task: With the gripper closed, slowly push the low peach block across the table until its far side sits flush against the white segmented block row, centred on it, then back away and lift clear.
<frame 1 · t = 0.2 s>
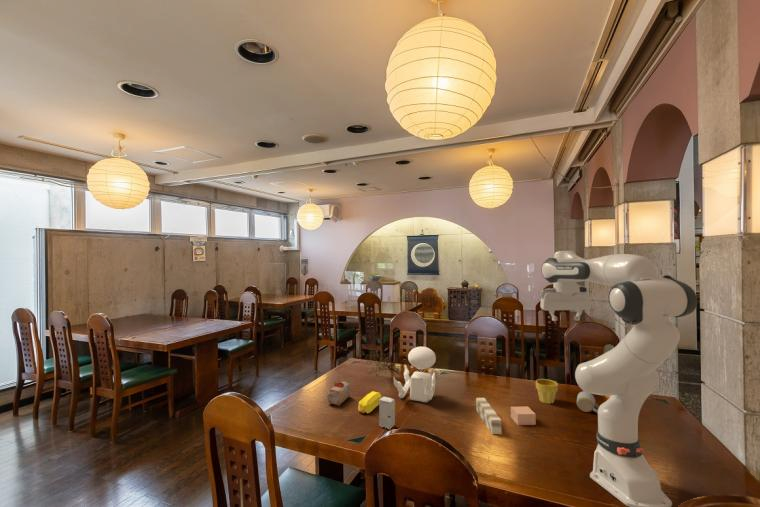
hand: (565, 320, 149), 47 cm above the table, tool pointing down, fingers open, 8 cm apart
food item: (339, 401, 186), on the table
skincare box: (387, 426, 157), on the table
white segmented block row: (488, 421, 160), on the table
yellow rounded capsule: (370, 408, 177), on the table
ceramic mug: (589, 410, 169), on the table
plant pot: (547, 401, 181), on the table
figurine: (417, 398, 188), on the table
peach block: (523, 421, 160), on the table
dried plant: (369, 379, 219), on the table
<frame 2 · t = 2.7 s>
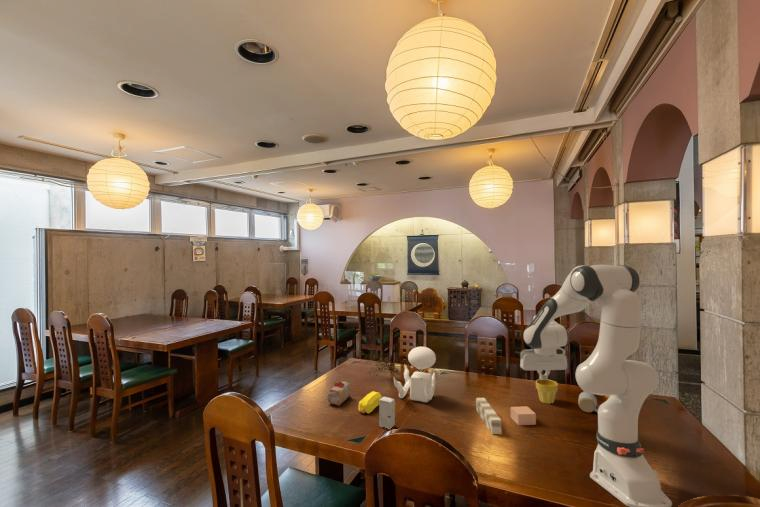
hand: (543, 379, 160), 19 cm above the table, tool pointing down, fingers closed
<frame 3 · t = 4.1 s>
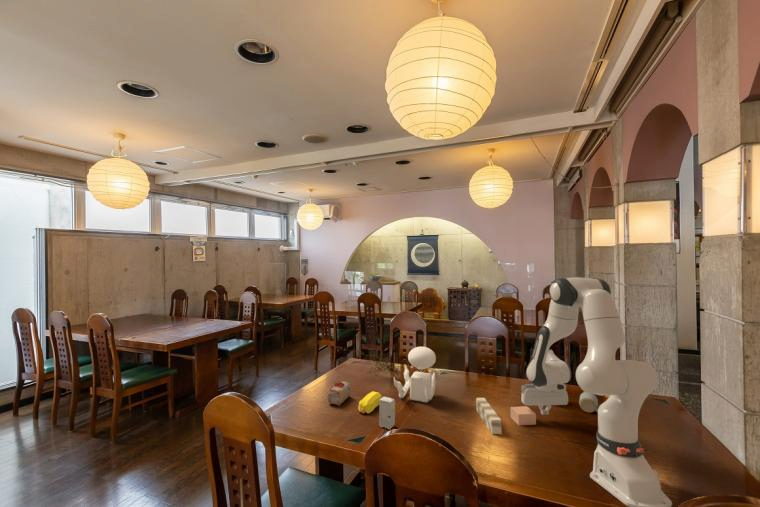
hand: (544, 414, 160), 3 cm above the table, tool pointing down, fingers closed
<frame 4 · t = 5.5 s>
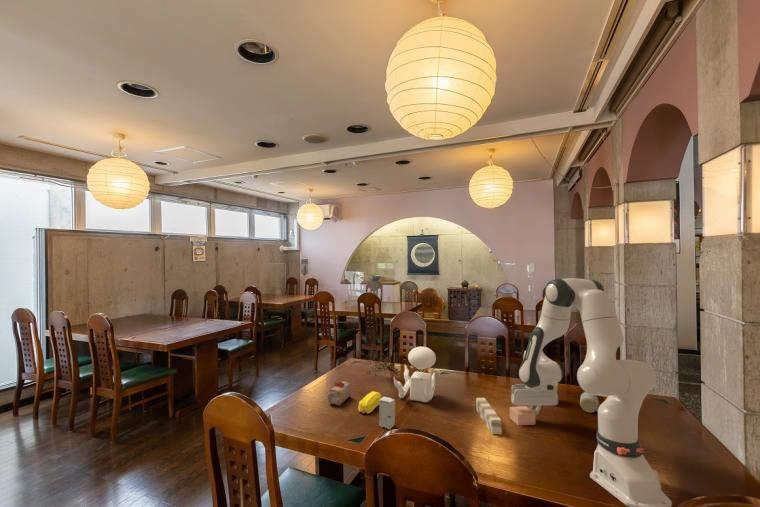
hand: (534, 414, 160), 3 cm above the table, tool pointing down, fingers closed
peach block: (522, 421, 160), on the table, touching gripper
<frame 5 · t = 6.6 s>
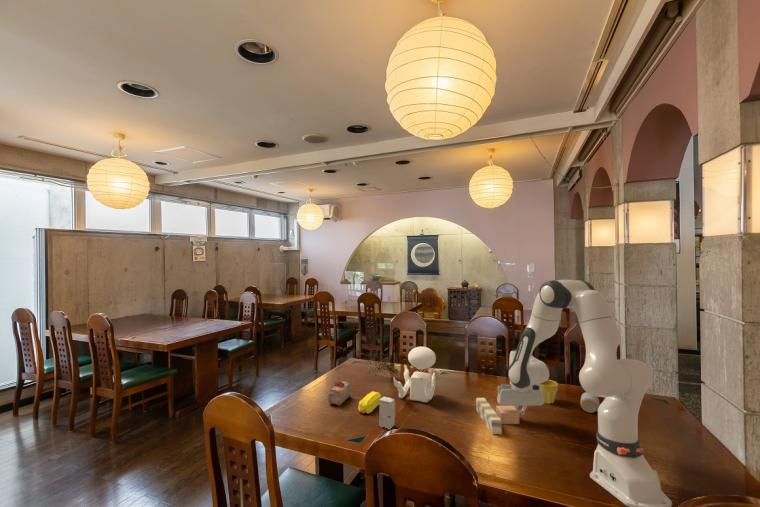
hand: (520, 414, 160), 3 cm above the table, tool pointing down, fingers closed
peach block: (507, 420, 161), on the table, touching gripper
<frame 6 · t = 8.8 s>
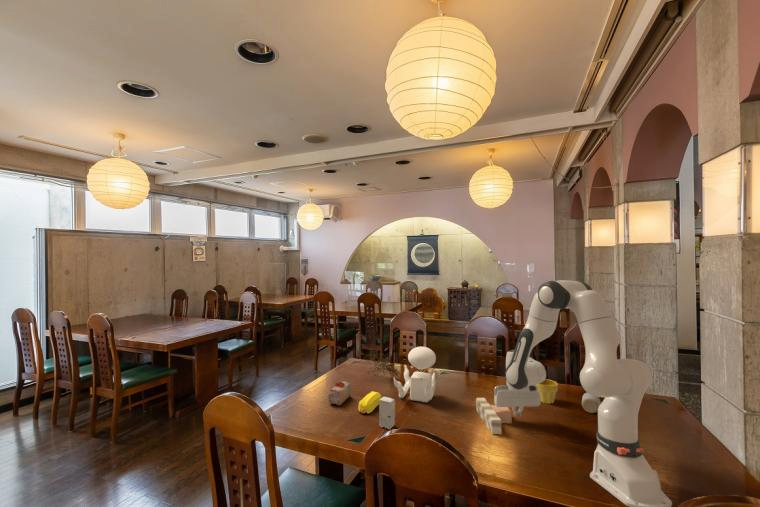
hand: (517, 415, 159), 2 cm above the table, tool pointing down, fingers closed
peach block: (500, 419, 162), on the table
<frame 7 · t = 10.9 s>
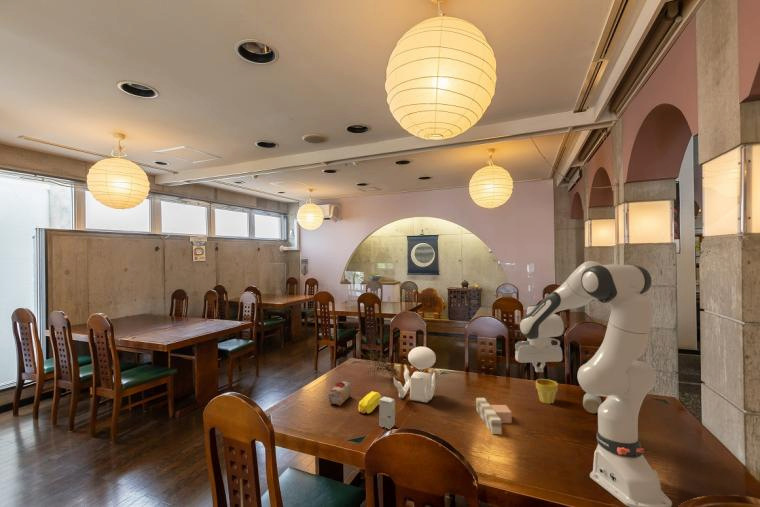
hand: (539, 371, 157), 23 cm above the table, tool pointing down, fingers closed
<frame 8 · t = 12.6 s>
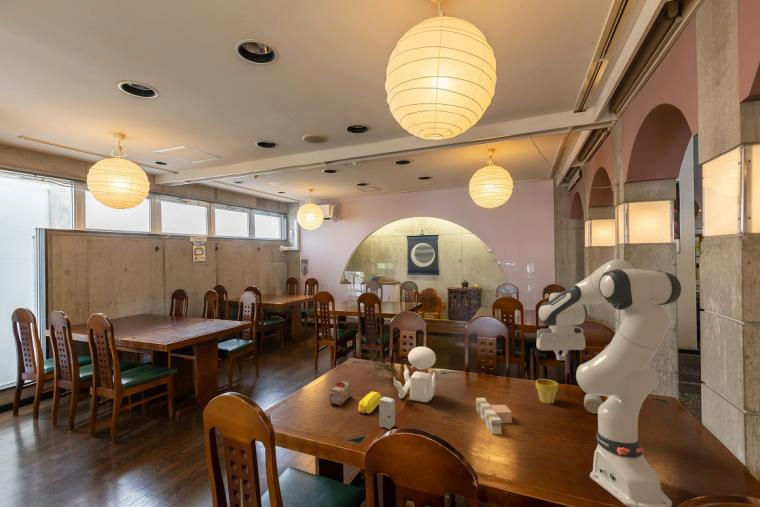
hand: (560, 359, 154), 29 cm above the table, tool pointing down, fingers closed
at the end: peach block 2.3 cm from the target spot on the table beside the white segmented block row, on the table; peach block tilted 0° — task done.
